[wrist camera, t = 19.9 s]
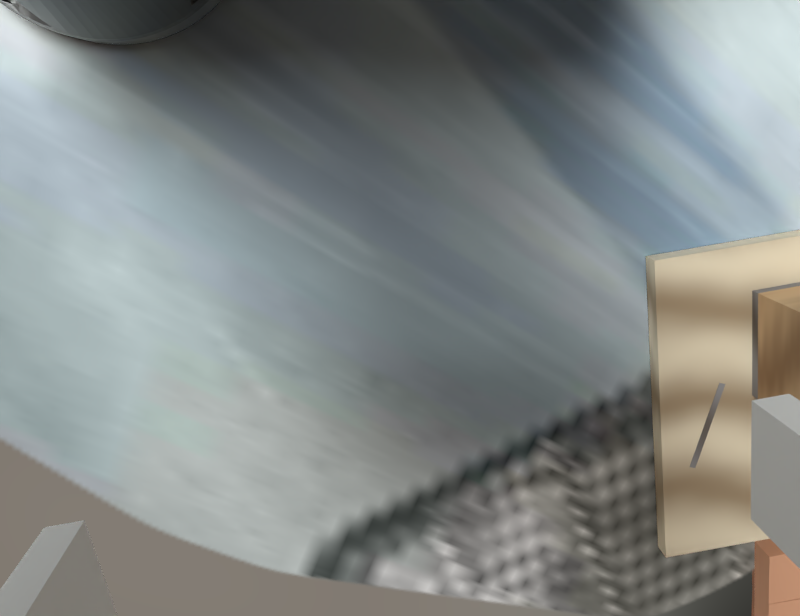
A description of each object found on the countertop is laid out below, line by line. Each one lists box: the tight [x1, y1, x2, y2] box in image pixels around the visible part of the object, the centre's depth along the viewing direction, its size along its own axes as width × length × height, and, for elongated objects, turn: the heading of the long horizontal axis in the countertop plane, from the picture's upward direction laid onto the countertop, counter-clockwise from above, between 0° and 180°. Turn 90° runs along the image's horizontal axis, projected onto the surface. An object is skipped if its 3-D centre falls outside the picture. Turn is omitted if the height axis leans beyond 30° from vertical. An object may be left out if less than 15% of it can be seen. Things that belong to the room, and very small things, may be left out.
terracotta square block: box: [752, 539, 800, 604], centre depth 47 cm, size 4×4×2 cm
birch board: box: [646, 230, 800, 558], centre depth 43 cm, size 21×18×1 cm
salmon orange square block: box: [751, 586, 800, 616], centre depth 48 cm, size 4×4×2 cm
